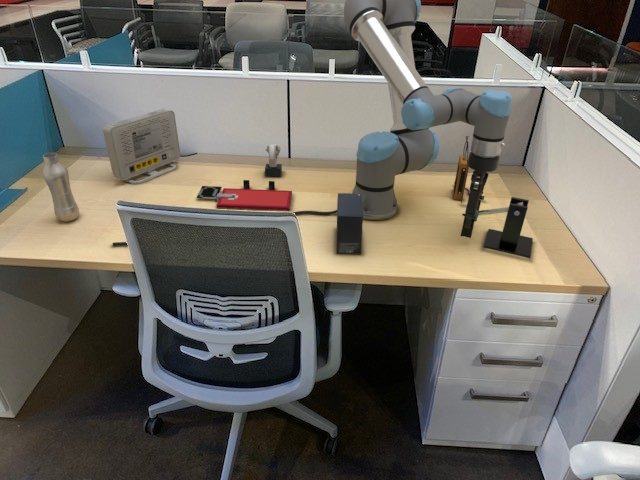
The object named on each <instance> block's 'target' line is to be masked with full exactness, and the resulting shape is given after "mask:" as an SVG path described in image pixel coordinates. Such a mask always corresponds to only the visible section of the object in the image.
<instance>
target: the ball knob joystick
mask: <svg viewBox="0 0 640 480" xmlns="http://www.w3.org/2000/svg"><path fill="white" fill-rule="evenodd" d="M512 204H517V205H523V206H524V204H523V202H518V203H512ZM508 209H509V206H506V207H497V208H492V209H484V210H479V211H477V210H476V214H475V215H476V217H475V220H476V219H477V220H478V218H479V216H486V215H495V214H502V213H503V214H504V213H508Z"/></svg>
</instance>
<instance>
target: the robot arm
mask: <svg viewBox="0 0 640 480" xmlns="http://www.w3.org/2000/svg"><path fill="white" fill-rule="evenodd" d="M421 10H422V2H421V0H345V2H344V6H343V20H344V23H345V26H346V29H347V31H348V33H349V34H350V35H351V37H352V38H353V40H355V41H357V42H360V43H361V46H362V47H363V48H364V49H365V51H366V52H367V54H368V56H369V57H370V58H371V60H372V61H373V63H374V65H376V67H377V68H378V70H379V71H380V73H381V74H382V77H383V78H384V79H385V81H386V82H387V86H388V93H389V100H390V107H391V113H392V120H393V125H392V126H391V127H390V129H389V131H374V132H370V133H368V134H366V135H364V136H363V137H361V138H360V140H359V141H358V145H357V150H356V168H355V170H356V172H355V185H354V187H353V190H352V192H351V193H358V194H361V195H362V207H363V220H366V221H367V220H368V221H383V220H388V219H391V218H392V217H394V216H395V215H396V214H397V213H398V206H399V205H398V200H397V197H396V192H395V188H394V187H395V180H396V179H395V178H396V176H399V175H402V174H406V173H410V172H413V171H414V172H415V171H421V170H423V169H424V168H427V167H430V166H432V165H433V164H434V163H435V161H436V159H437V158H438V155H439V153H440V140H439V138H438V135H437V134H436V132H435V131H434V130H432V129H431V128H433V127H439V126H442V125H443V126H444V125H449V124H453V123H454V124H455V123H457V122H462V123H465V124H468V125H469V126H472V127H474V128H473V134H472V137H471V138H472V139H471V143H470V146H469V147H470V148H469V150H470V152H468V157H469V158H468V166H469V169H471V170H473V172H472V174H471V177H470V185H469V194H468V198H467V203H466V208H465V211H464V213H462V214H461V217H462V216H463V222H462V228H461V232H460V237H465V238H468V239H472V235H473V230H474V225H475V222H477V220H478V218H477V219H476V220H475V217H476V215H475V214H476V210H477V211H480V208H481V202H482V201H483V200H484V201H485V195H483V194H484V189H485V186H486V184H487V181H488V178H489V175H490V173H492V172H495V171H496V170H497V169H498V167H499V163H500V162H499V161H500V159H501V158H500V155H501V151H502V148H505V146H506V143H505V142H504V139H505V134H506V129H507V126H508V121H509V119H510V115H511V114H512V104H513V96H512V94H511V93H510V92H508V91H506V90H499V89H486V90H484V91H482V92H481V93H480V94H479V93H475V92H472V91H469V90H466V89H464V88H462V87H454V86H451V87H448V88H447V89H446V90H445V91H443V92H441V94H434V93H433V91H432V89H430V88H429V86H428V85H427V83H426V82H425V81H424V79H423V78H422V76H421V75H420V73H419V72H418V70H417V69H416V63H415V55H414V49H413V42H412V34H413V33H414V31H415V30H416V23H417V21H418V20H419V18H420V13H421ZM479 199H481V200H479ZM293 213H295V214H296V215H295V216H297V215H306V214H308V215H311V214H312V215H321V216H326V215H327V216H329V215H334V214H335V215H336V214H337V209H334V210H331V211H317V210H299V211H293ZM126 242H127V241H120V242H112V246H113V247H119V246H128V245H127V243H126Z"/></svg>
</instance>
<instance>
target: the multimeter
mask: <svg viewBox="0 0 640 480" xmlns="http://www.w3.org/2000/svg"><path fill="white" fill-rule="evenodd" d="M468 139H469V135H466V136H465V142H464V146H463V154H459V157H458V162H457V166H456V167H457V168H456V173H455V179H454V183H453V184H454V185H453V189H452V191H453V192H452V193H453V200H455V201H456V200H457V201H460V203H461V204H463V199H464V194H465V190H467V191H468V192H467V195H469V194H470V189H468V188H466V185H467V180H468V174H469V170H470V167H469V166H468V158H469V141H468ZM479 200H481V199H479ZM481 201H483V202H485V199H484V200H481Z"/></svg>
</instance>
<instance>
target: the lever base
mask: <svg viewBox="0 0 640 480" xmlns="http://www.w3.org/2000/svg"><path fill="white" fill-rule="evenodd" d="M518 202H523V204H524V206H523V205H517V204H512V203H518ZM529 202H530V200H529V199H525V198H520V197H514V196H511V198H510V201H509V206H508V207H509V209H508V212H506V216H505V221H504V225H503V228H502V230H497V229H493V228H488V230H487V233H486V237H485V241H484V243H483V248H484V249H488V250H492V251H497V252H500V253H505V254H510V255H515V256H517V257H523V258H527V259H531V256H532V248H533V240H534V238H533V237H529V236H524V235H521V233H522V230H523V226H524V222H525V219H526V215H527V212H528V208H529Z"/></svg>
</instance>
